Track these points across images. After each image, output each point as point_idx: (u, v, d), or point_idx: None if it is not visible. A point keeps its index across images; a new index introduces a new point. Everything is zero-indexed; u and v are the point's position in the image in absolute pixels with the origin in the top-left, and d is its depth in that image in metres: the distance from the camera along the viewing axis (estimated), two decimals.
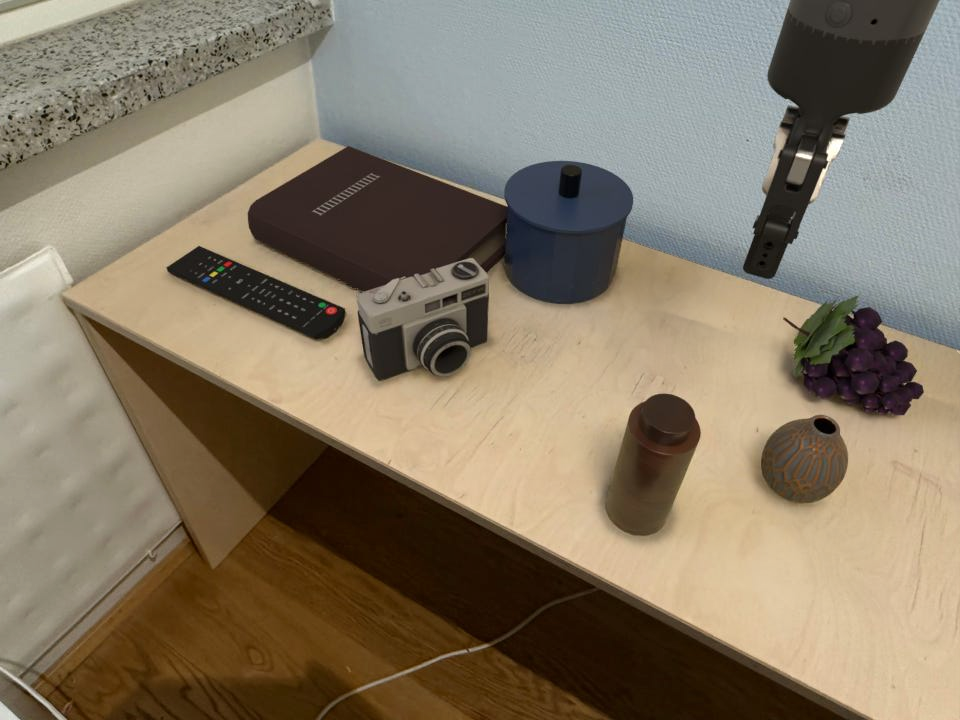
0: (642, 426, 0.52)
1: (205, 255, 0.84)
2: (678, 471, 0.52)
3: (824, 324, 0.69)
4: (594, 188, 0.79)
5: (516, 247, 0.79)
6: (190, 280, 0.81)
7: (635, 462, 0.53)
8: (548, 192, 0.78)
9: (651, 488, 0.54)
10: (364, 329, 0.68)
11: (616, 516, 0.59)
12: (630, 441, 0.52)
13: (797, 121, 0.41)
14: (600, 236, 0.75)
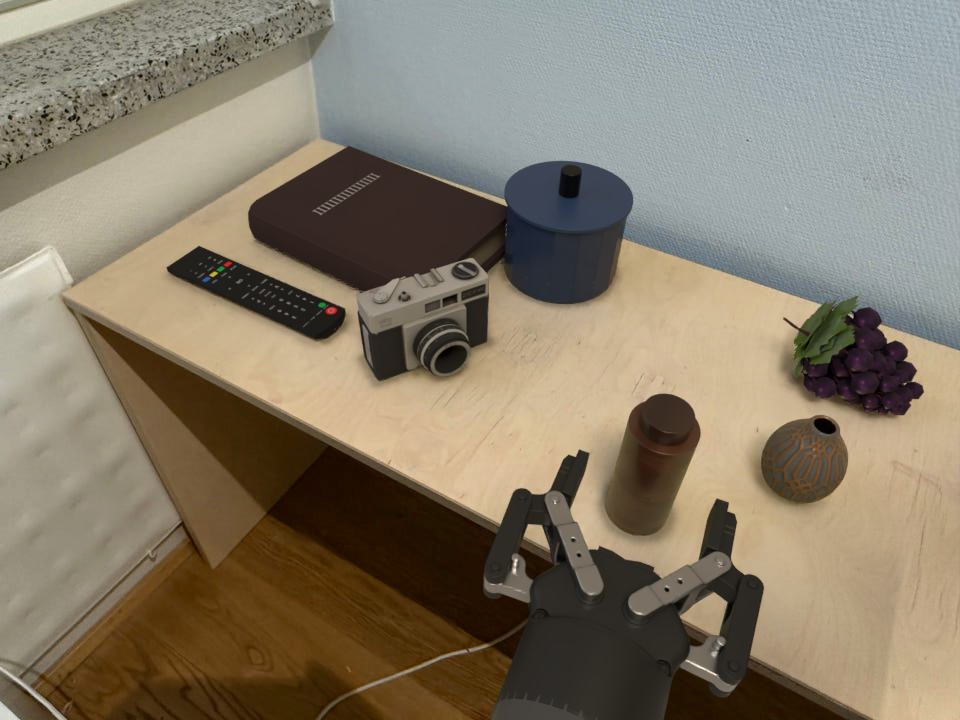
0: (642, 426, 0.52)
1: (205, 255, 0.84)
2: (678, 471, 0.52)
3: (824, 324, 0.69)
4: (594, 188, 0.79)
5: (516, 247, 0.79)
6: (190, 280, 0.81)
7: (635, 462, 0.53)
8: (548, 192, 0.78)
9: (651, 488, 0.54)
10: (364, 329, 0.68)
11: (616, 516, 0.59)
12: (630, 441, 0.52)
13: None
14: (600, 236, 0.75)
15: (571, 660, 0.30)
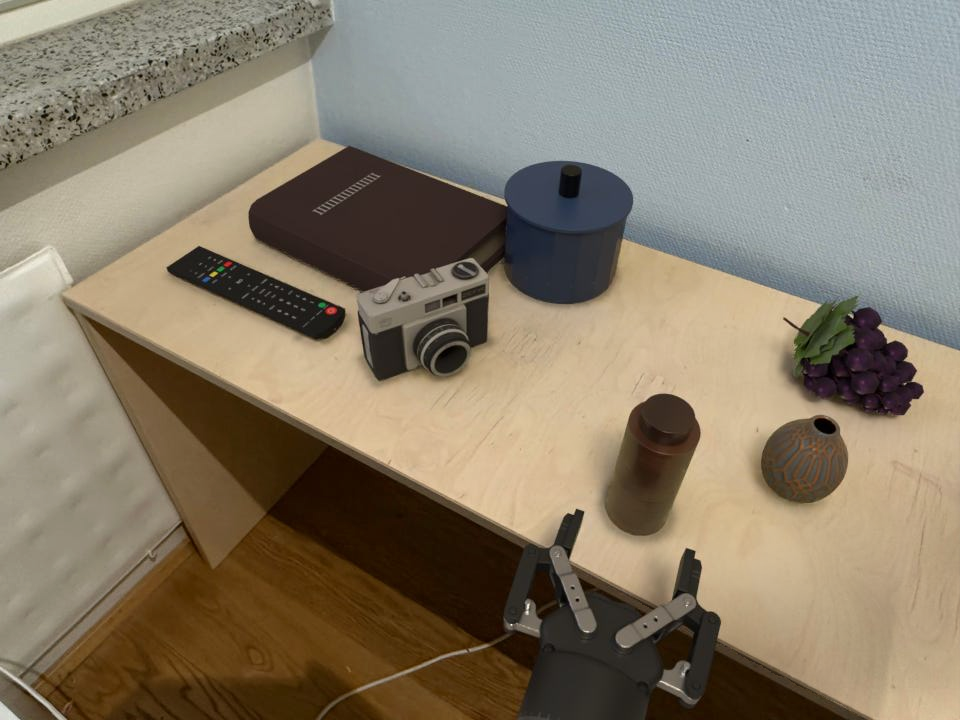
0: (642, 426, 0.52)
1: (205, 255, 0.84)
2: (678, 471, 0.52)
3: (824, 324, 0.69)
4: (594, 188, 0.79)
5: (516, 247, 0.79)
6: (190, 280, 0.81)
7: (635, 462, 0.53)
8: (548, 192, 0.78)
9: (651, 488, 0.54)
10: (364, 329, 0.68)
11: (616, 516, 0.59)
12: (630, 441, 0.52)
13: None
14: (600, 236, 0.75)
15: (572, 686, 0.40)
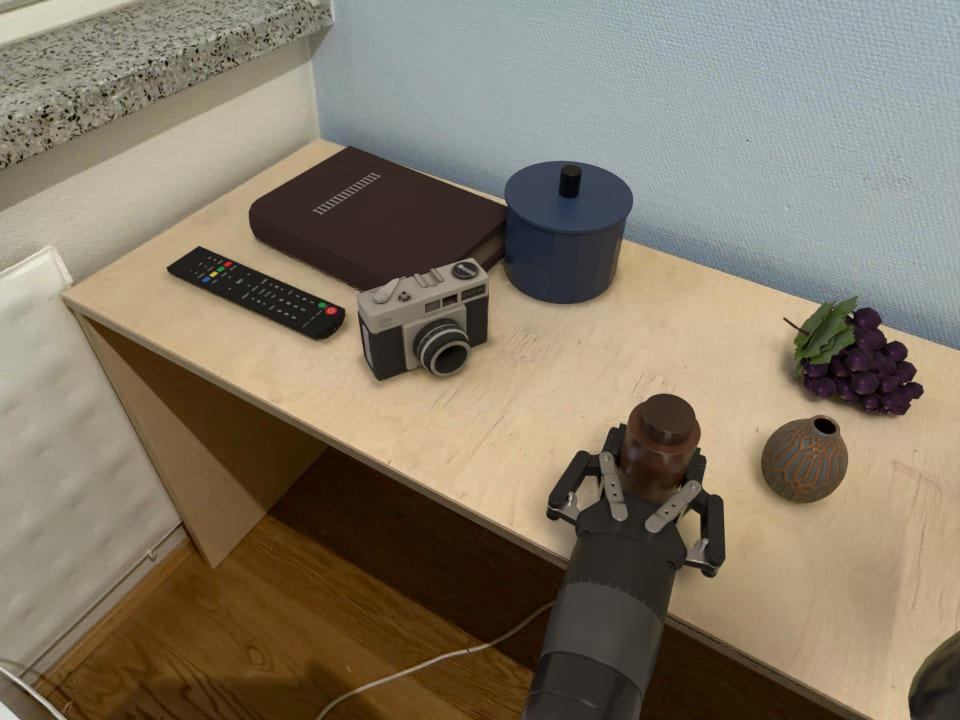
0: (642, 426, 0.52)
1: (205, 255, 0.84)
2: (678, 471, 0.52)
3: (824, 324, 0.69)
4: (594, 188, 0.79)
5: (516, 247, 0.79)
6: (190, 280, 0.81)
7: (635, 462, 0.53)
8: (548, 192, 0.78)
9: (651, 487, 0.54)
10: (364, 329, 0.68)
11: None
12: (631, 441, 0.52)
13: None
14: (600, 236, 0.75)
15: (610, 557, 0.46)
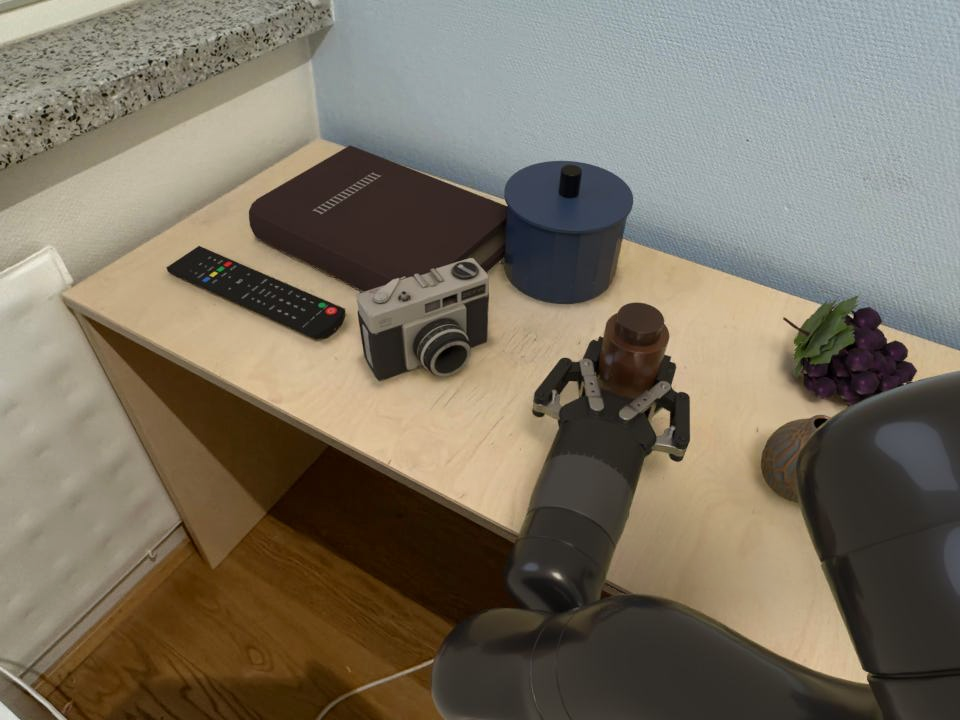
0: (617, 330, 0.58)
1: (205, 255, 0.84)
2: (649, 371, 0.59)
3: (824, 324, 0.69)
4: (594, 188, 0.79)
5: (516, 247, 0.79)
6: (190, 280, 0.81)
7: (611, 364, 0.59)
8: (548, 192, 0.78)
9: (626, 388, 0.60)
10: (364, 329, 0.68)
11: None
12: (607, 344, 0.59)
13: None
14: (600, 236, 0.75)
15: (586, 434, 0.52)
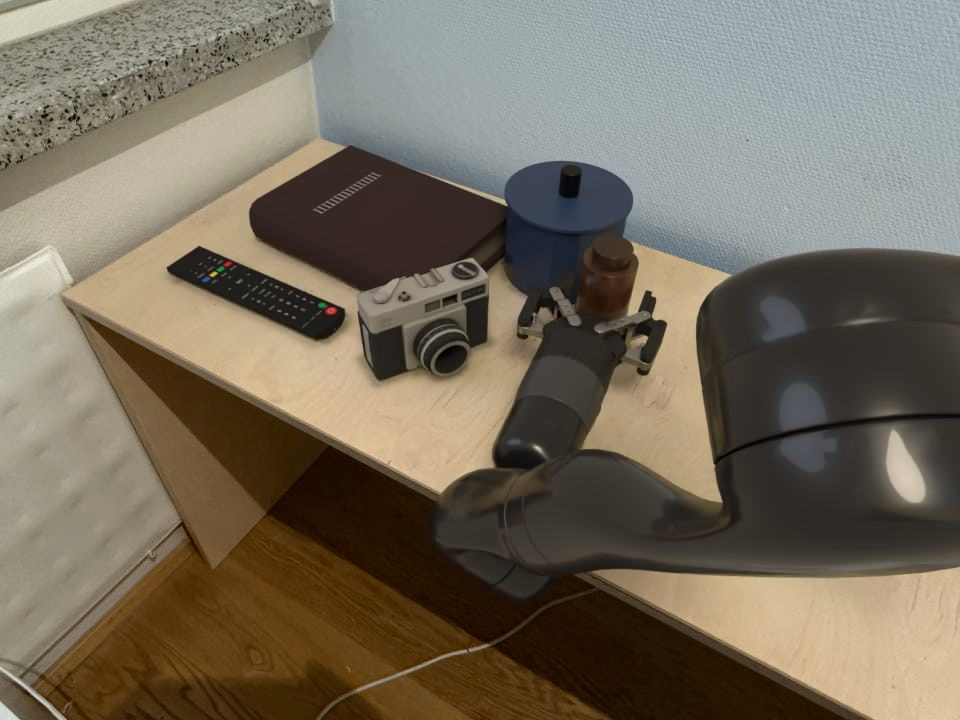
0: (593, 258, 0.67)
1: (205, 255, 0.84)
2: (621, 294, 0.67)
3: None
4: (594, 188, 0.79)
5: (516, 247, 0.79)
6: (190, 280, 0.81)
7: (588, 289, 0.68)
8: (548, 192, 0.78)
9: (601, 311, 0.69)
10: (364, 329, 0.68)
11: None
12: (584, 271, 0.67)
13: None
14: (600, 236, 0.75)
15: (564, 340, 0.61)
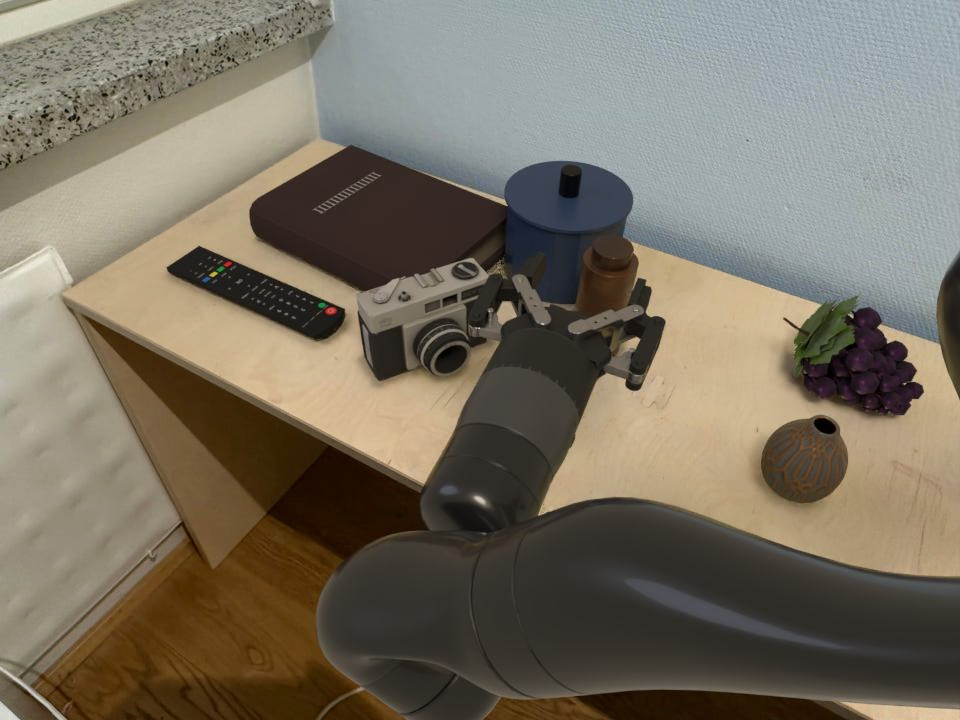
0: (593, 258, 0.67)
1: (205, 255, 0.84)
2: (621, 294, 0.67)
3: (824, 324, 0.69)
4: (594, 188, 0.79)
5: (516, 247, 0.79)
6: (190, 280, 0.81)
7: (588, 289, 0.68)
8: (548, 192, 0.78)
9: (601, 311, 0.69)
10: (364, 329, 0.68)
11: None
12: (584, 271, 0.67)
13: None
14: (600, 236, 0.75)
15: (525, 345, 0.45)
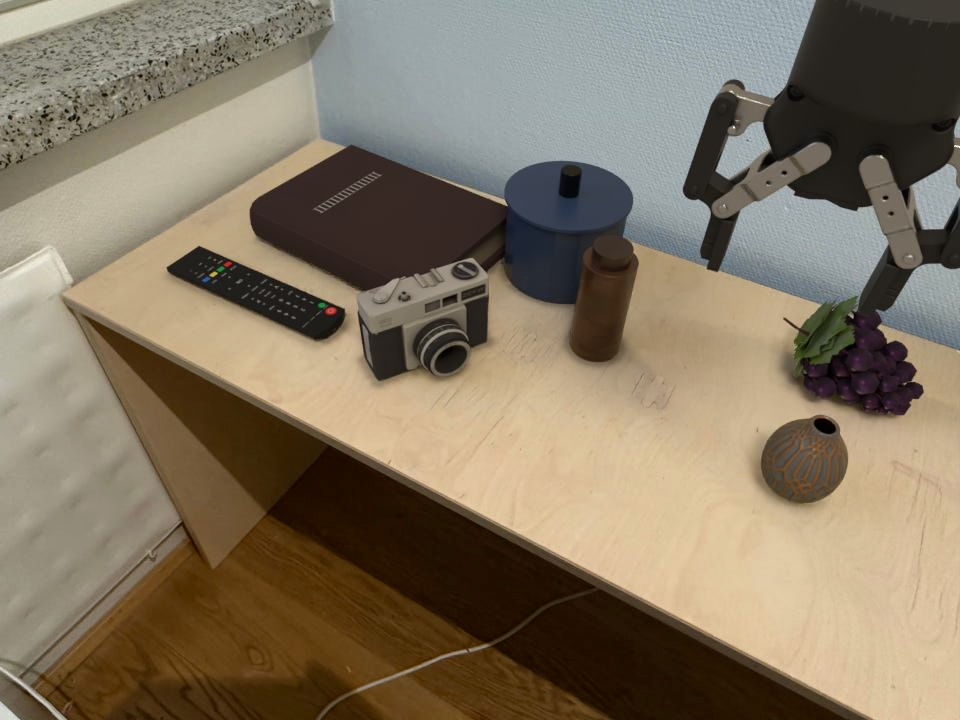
0: (593, 258, 0.67)
1: (205, 255, 0.84)
2: (621, 294, 0.67)
3: (824, 324, 0.69)
4: (594, 188, 0.79)
5: (516, 247, 0.79)
6: (190, 280, 0.81)
7: (588, 289, 0.68)
8: (548, 192, 0.78)
9: (601, 311, 0.69)
10: (364, 329, 0.68)
11: (577, 346, 0.74)
12: (584, 271, 0.67)
13: (945, 134, 0.30)
14: (600, 236, 0.75)
15: None
